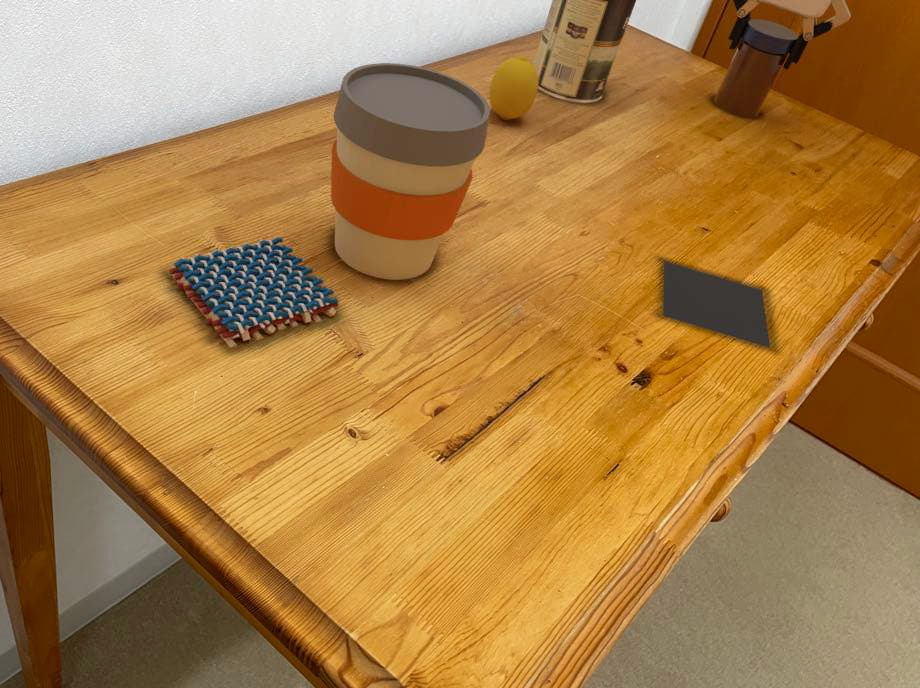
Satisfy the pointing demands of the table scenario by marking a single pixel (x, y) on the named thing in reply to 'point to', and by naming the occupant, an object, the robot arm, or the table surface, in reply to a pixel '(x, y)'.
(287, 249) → the woven mat
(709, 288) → the coaster
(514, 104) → the lemon
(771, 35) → the lid
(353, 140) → the reusable coffee cup
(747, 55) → the jar
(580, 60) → the coffee can
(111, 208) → the table surface
